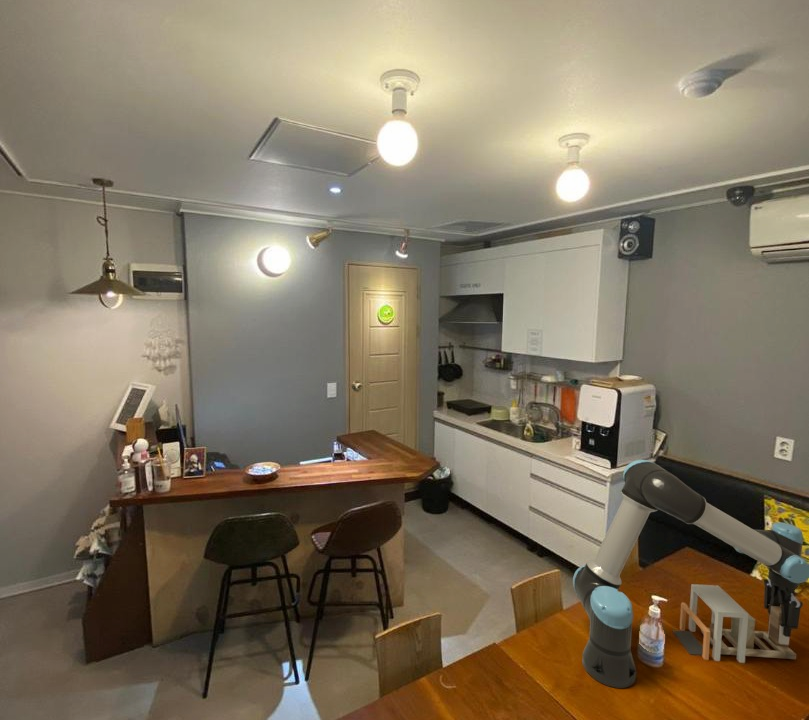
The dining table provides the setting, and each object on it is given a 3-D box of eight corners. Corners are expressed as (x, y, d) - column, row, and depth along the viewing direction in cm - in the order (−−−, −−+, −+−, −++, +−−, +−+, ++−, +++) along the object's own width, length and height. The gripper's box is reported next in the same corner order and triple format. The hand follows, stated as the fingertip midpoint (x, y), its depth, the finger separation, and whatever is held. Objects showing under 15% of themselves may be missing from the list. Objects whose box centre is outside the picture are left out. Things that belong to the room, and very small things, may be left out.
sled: (720, 654, 141) (722, 615, 140) (701, 631, 152) (703, 595, 151) (795, 659, 139) (799, 620, 138) (771, 636, 150) (774, 600, 149)
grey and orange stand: (704, 660, 140) (708, 611, 138) (679, 627, 154) (682, 583, 153) (744, 662, 139) (748, 613, 137) (715, 630, 153) (718, 585, 152)
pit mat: (690, 654, 142) (690, 653, 142) (672, 631, 153) (672, 630, 153) (709, 656, 141) (709, 655, 141) (690, 632, 152) (690, 631, 152)
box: (753, 652, 143) (756, 620, 142) (739, 651, 143) (742, 619, 143) (742, 640, 148) (745, 610, 147) (729, 640, 149) (731, 609, 148)
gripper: (818, 587, 134) (811, 658, 136) (776, 558, 151) (771, 622, 152) (792, 585, 135) (786, 657, 136) (753, 557, 151) (748, 621, 153)
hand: (778, 638), depth 144 cm, fingers open, 4 cm apart
